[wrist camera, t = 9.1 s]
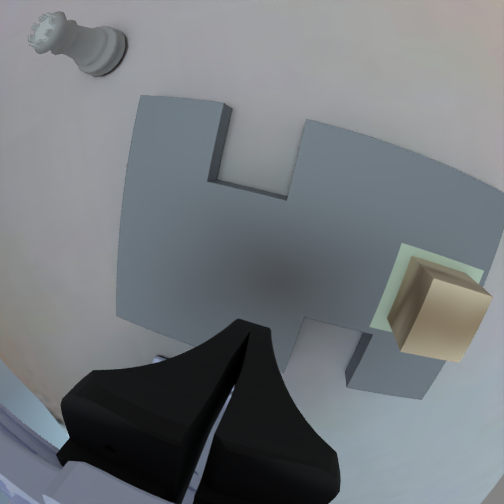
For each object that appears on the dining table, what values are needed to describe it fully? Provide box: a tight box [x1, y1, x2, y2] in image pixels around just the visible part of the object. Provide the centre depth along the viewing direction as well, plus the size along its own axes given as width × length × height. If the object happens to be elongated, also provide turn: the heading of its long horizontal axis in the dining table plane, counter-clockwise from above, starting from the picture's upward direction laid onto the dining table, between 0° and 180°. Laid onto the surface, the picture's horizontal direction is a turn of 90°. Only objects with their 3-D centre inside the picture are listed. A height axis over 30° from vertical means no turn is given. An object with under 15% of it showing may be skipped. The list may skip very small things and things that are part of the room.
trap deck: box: [116, 95, 504, 400], centre depth 20 cm, size 17×26×2 cm, turn 77°
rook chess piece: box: [28, 11, 125, 76], centre depth 15 cm, size 4×4×8 cm
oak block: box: [387, 256, 493, 363], centre depth 16 cm, size 4×4×4 cm
